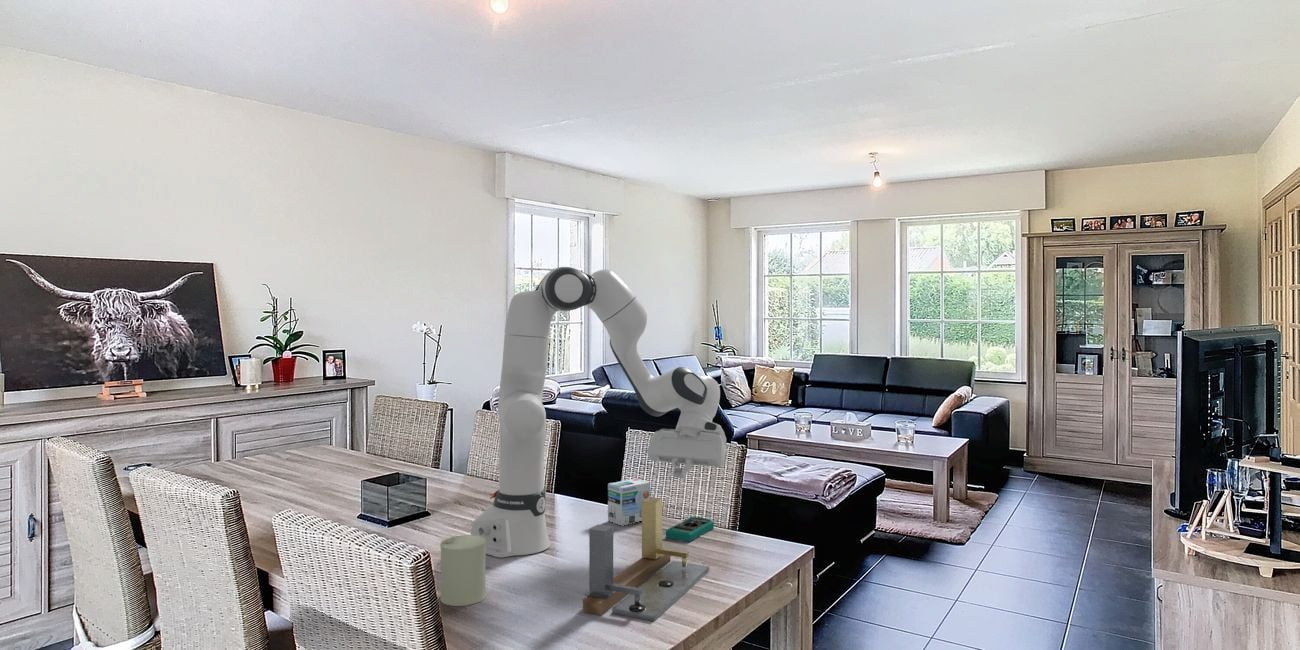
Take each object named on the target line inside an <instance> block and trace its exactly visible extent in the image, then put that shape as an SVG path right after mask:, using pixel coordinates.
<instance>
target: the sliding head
mask: <svg viewBox="0 0 1300 650" xmlns="http://www.w3.org/2000/svg"><path fill="white" fill-rule="evenodd" d="M662 554H664V555H670V557H671V556H673V557H678V558H681V562H682V567H687V563H688V562H687V560H688V559H687V558H688V557H689V551H684V550H677V549H672V548H664V547H663V498H658V497H651V496H650V497H648V498H646V499H644V500H642V522H641V558H642V557H643V558H650V559H657V558H658V557H660V556H661V555H662Z"/></svg>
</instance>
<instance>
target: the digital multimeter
mask: <svg viewBox="0 0 1300 650" xmlns="http://www.w3.org/2000/svg"><path fill="white" fill-rule="evenodd" d="M712 528H715V525H714V521H713V520H711V519H709V518H705V517H698V516H691V517H689V518H687V519H684V520H683V521H681V522H679V523H678V524H675V525H673V526H671V527H669V528H667V529H666V530H665V538H666V537H667V538H666V539H669V538H672V539H671V540H673V539H676V540H675V541H678V540H682V541H681V542H685V541H688V542H687V543H691V542H692V540H693V541H694V540H696V539H697V538H699V537H701V536H703V535H704V534H706V533H708V532H710V531H712V530H713V529H712ZM709 530H710V531H709ZM700 535H701V536H700ZM698 536H699V537H698ZM695 538H696V539H695Z"/></svg>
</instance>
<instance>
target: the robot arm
mask: <svg viewBox="0 0 1300 650" xmlns="http://www.w3.org/2000/svg"><path fill="white" fill-rule="evenodd" d="M584 306H586V307H588V308H589V309H591V310H592V312H594V313H595V315H596V316H597V318H598V319H599V321H600V322H601V323H602V324H603V325H604V327H605V329H606V331H607V333H608V337H609V346H610V349H611V352H612V354H613V356H614V357H615V359H616V361H617V362H618V365H619V367H620V368H621V369H622V371H623V373H624V375H625V377H626V378H627V380H628V381H629V383H630V385H631V386H632V389H633V390H634V393H635V395H636V398H637V401H638V403H639V405H640V407H641V408H642V410H643V411H644V412H645V413H647V414H648V415H650V416H653V417H661V416H663V415H666V414H667V413H669V412H671V411H673V410H675V409H678V410H680V415H679V418H678V421H677V424H676V426H675V428H674V429H673V428H660V429H659V430H656V431H655V432H654V433H653V436H652V439H651V441H650V442H649V444H648V447H647V449H646V452H647V453H646V454H647V456H648V458H649V459H650V460H651V461H652V462H660V463H669V464H670V463H671V464H672V467H673V469H672V473H671V474H672V477H673V478H680V479H685V478H686V475H687V473H689V472H690V471H691V470H692V469H693V468H694V466H702V467H703V466H704V467H713V468H714V467H716V468H720V467H721V466H722V465H724V463H725V460H726V454H727V447H726V443H727V437H726V434H725V431H724V429H723V428H722V425H720V424H718V423H715V422H713V419H714V418H715V417H716V414H717V411H718V408H719V404H720V400H721V399H720V398H721V389H720V384H719V383H718V381H717V380H715V379H714V378H712V377H711V376H708V375H705V374H702V375H700V374H699V375H698V374H696V373H695V372H693V371H692V370H691V369H690V368H689V367H688V368H687V367H685V366H678V367H676V368H673V369H671V370H669V371H666V372H664V373H663V374H660V375H659V376H654V375H653V374H651V372H650V371H649V369H648V368H647V366H646V364H645V362H644V361H643V359H642V357H641V355H640V354H639V351H638V347H637V346H638V343H639V340H640V339H641V337H642V335H643V333H644V332H645V330H646V327H647V325H648V324H647V323H648V314H647V311H646V309H645V307H644V304H642V302H641V301H640V300H639V298H638V297H637V296H636V294H635V293H634V292H633V290H631V288H630V287H629V286H628V285H627V284H626V283H625V282H624V280H623V279H622V278H620V277H619V275H617V274H616V273H615V272H614V271H613V270H611V269H606V268H604V269H600V270H596V271H595V272H593V273H591V274H588V273H586V272H583V271H582V270H579V269H577V268H574V267H571V266H562V267H561V266H560V267H559V266H558V267H555V268H553V269H551V270H550V271H549V272H548V273H546V275H544V276H543V277H542V279H541V281H540V282H539V283H538V285H537V287H536V288H535V290H525V291H521V292H518V293H516V294H514V295H513V296H512V297H511V300H510V303H509V306H508V310H507V315H506V316H507V317H506V320H505V327H504V339H503V340H504V341H503V351H502V363H501V364H502V366H501V374H500V383H499V393H498V400H497V401H498V403H497V416H498V418H499V447H498V448H499V449H498V450H499V453H498V490H496V491H495V492H492V493H490V494H489V496H490V497H489V500H491V499H493V498H494V499H493V502H492V505H490V506H489V507H488V508H487V509H486V510H485V511H483V512H482V513H481V514H480V515H478V516H476V518H474V520H473V522H472V525H471V527H470V535H473V536H480V537H483V538H484V539H485V540H486V550H485V555H489V556H493V557H495V558H508V557H513V556H525V555H531V554H537V553H540V552H543V551H545V550H547V549H549V548H550V546H551V541H550V537H549V534H548V530H547V529H548V528H547V523H546V514H545V511H546V488H544V487H545V486H544V485H545V484H544V483H545V482H544V480H545V475H544V474H545V473H544V470H545V468H544V467H545V464H544V459H545V448H546V447H545V446H546V424H547V422H546V421H547V413H546V409H545V405H544V404H543V396H544V395H543V394H544V387H545V381H546V374H547V370H548V356H549V344H550V328H551V322H552V318H553V317H554V315H555V313H557V312H569V311H574V310H577V309H579V308H582V307H584ZM680 464H681V465H684V466H683V467H682V468H679V467H680Z"/></svg>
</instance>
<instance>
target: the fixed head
mask: <svg viewBox="0 0 1300 650" xmlns="http://www.w3.org/2000/svg"><path fill="white" fill-rule="evenodd" d="M588 532H589V536H588V537H589V538H588V540H589V542H588V543H589V545H588V546H589V550H588V551H589V552H588V553H589V560H588V561H589V562H588V563H589V564H588V565H589V567H588V571H589V575H588V576H589V587H588V588H589V589H588V590H589V591H588V592H587V593H585V597H587V596H589V597H594V598H599V599H605V600H607V599H609V598H610V597H611V596H613V595H614V594H615V593H617V592H622V593H627V594H628V595H630V594H632V595H635V606H640V595H641V594H642V588H639V587H637V588H636V587H631V586H625V585H620V584H614V583H613V578H614V526H612V525H606V524H605V525H604V524H599V523H598V524H596V525H593V526H592V527H591V528H589V531H588Z"/></svg>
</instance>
